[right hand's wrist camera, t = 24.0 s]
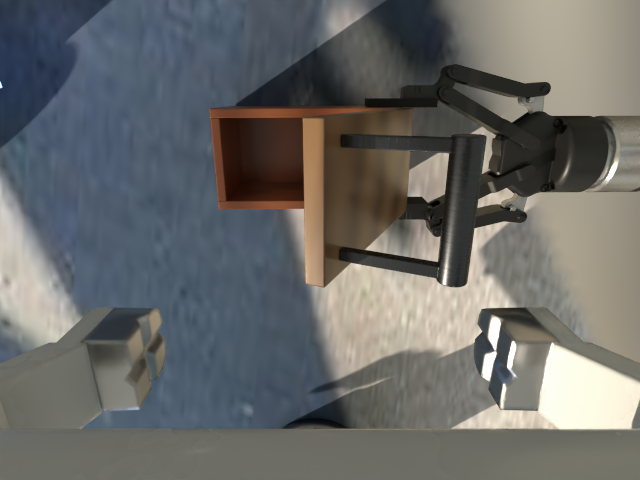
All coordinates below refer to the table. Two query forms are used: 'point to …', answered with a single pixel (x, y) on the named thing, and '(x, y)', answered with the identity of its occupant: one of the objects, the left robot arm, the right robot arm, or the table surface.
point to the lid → (381, 193)
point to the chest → (264, 153)
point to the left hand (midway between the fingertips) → (364, 155)
